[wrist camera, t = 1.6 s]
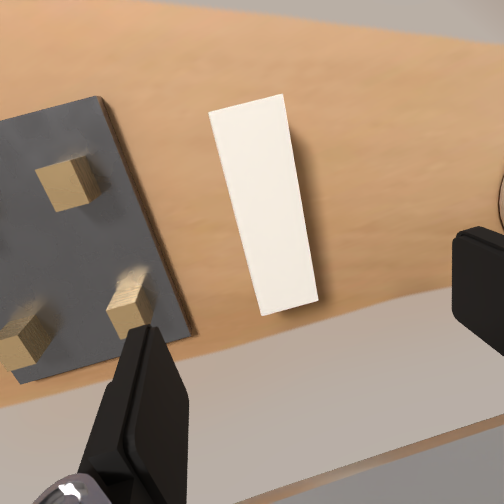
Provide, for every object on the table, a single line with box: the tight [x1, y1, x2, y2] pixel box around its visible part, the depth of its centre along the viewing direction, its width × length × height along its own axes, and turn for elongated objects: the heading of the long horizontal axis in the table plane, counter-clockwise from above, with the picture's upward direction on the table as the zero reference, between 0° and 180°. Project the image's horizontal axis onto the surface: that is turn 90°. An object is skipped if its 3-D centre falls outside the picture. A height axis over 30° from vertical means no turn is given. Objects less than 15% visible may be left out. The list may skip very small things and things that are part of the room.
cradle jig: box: [0, 96, 191, 385], centre depth 22 cm, size 14×18×4 cm
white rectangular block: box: [208, 94, 319, 316], centre depth 22 cm, size 4×13×5 cm, turn 13°
